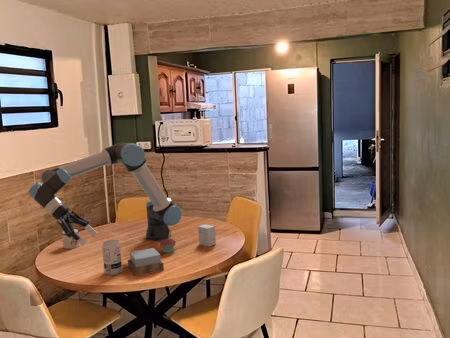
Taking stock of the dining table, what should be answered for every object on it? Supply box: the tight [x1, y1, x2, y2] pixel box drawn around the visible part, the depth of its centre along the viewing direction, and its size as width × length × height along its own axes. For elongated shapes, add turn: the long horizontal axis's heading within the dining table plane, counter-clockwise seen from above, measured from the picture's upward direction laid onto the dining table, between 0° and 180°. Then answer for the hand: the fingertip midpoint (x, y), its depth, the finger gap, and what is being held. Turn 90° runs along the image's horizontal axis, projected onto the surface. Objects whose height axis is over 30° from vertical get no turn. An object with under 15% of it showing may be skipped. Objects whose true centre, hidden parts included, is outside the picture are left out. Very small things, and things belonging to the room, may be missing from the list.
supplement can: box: [101, 239, 123, 276], centre depth 211 cm, size 8×8×15 cm
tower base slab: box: [127, 259, 164, 277], centre depth 215 cm, size 14×14×4 cm
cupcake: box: [159, 231, 176, 254], centre depth 237 cm, size 9×8×12 cm
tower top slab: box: [129, 247, 162, 268], centre depth 215 cm, size 12×12×4 cm
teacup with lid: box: [61, 228, 80, 250], centre depth 255 cm, size 12×9×12 cm
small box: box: [197, 224, 217, 247], centre depth 247 cm, size 8×6×10 cm
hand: (90, 239), depth 210 cm, fingers open, 13 cm apart
